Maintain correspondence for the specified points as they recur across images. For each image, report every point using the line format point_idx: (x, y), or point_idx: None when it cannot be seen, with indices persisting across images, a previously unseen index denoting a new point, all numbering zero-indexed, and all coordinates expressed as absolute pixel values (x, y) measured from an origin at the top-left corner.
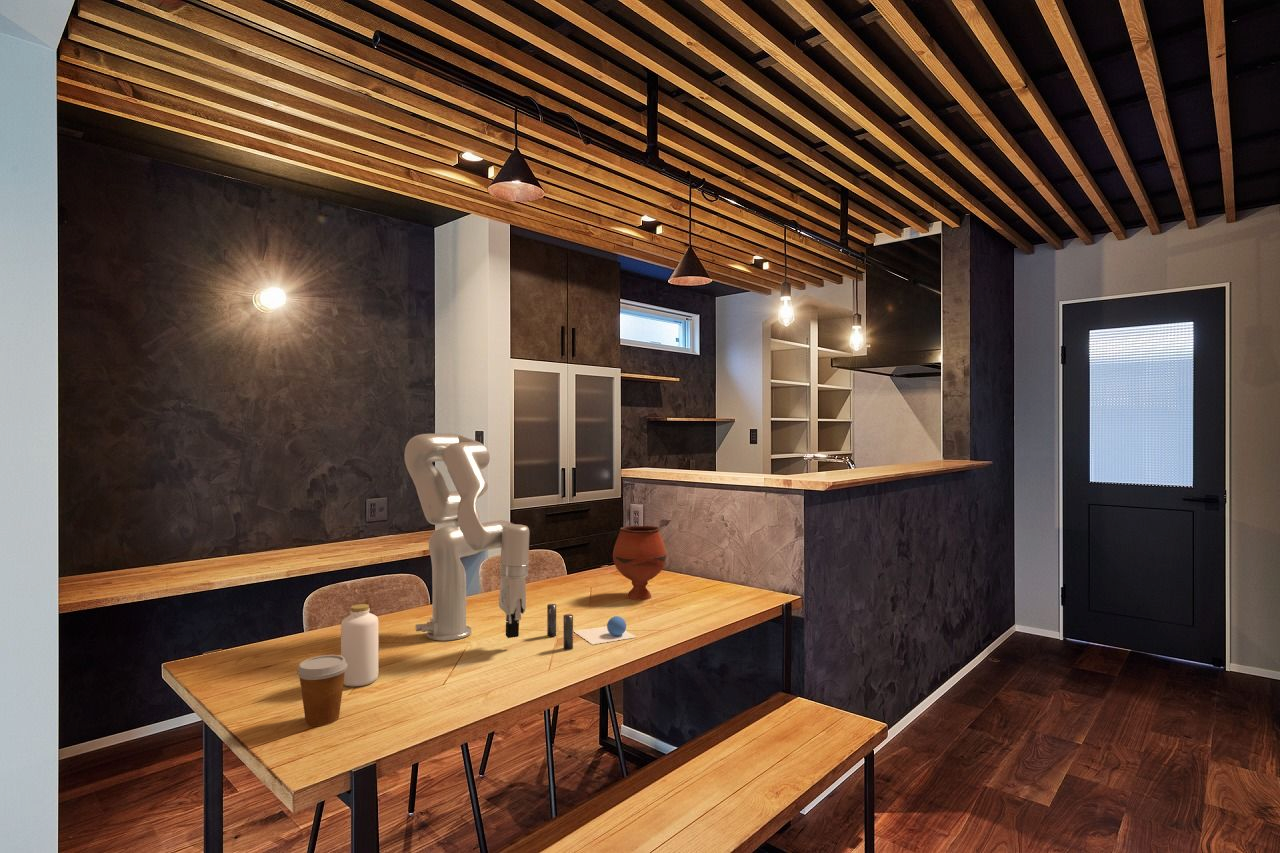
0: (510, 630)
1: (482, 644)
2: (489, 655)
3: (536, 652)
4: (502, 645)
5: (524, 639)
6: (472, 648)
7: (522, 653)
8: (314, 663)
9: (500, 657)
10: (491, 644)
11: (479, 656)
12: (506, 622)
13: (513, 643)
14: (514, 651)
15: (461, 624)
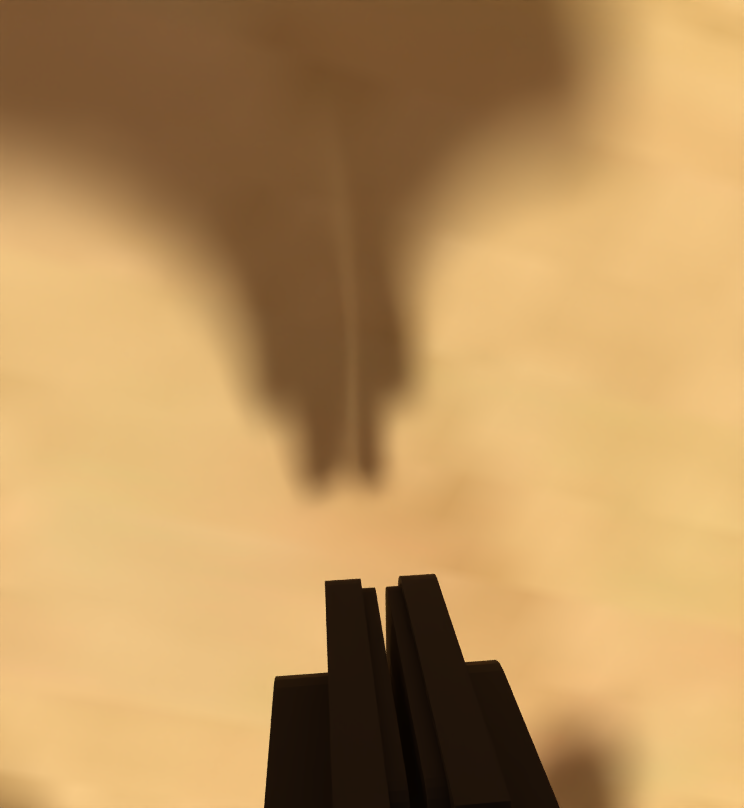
0: (313, 724)
1: (740, 224)
2: (194, 189)
3: (66, 786)
4: (547, 470)
5: (622, 748)
6: (652, 24)
7: (94, 633)
8: None
9: (29, 323)
10: (668, 344)
11: (210, 18)
12: (465, 802)
13: (549, 610)
14: (223, 558)
15: None
